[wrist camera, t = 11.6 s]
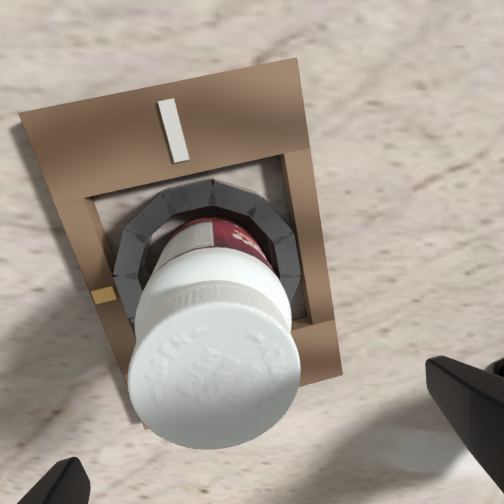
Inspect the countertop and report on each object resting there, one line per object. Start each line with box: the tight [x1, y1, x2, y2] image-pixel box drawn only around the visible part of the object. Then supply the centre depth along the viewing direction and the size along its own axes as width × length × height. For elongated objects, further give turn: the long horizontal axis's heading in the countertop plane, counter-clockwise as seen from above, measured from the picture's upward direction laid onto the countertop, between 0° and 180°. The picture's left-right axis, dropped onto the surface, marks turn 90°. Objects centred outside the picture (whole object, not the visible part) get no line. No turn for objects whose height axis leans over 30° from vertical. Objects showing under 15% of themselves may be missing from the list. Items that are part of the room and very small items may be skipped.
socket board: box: [18, 57, 343, 429], centre depth 19 cm, size 20×14×2 cm
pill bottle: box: [128, 217, 301, 449], centre depth 15 cm, size 6×6×11 cm
